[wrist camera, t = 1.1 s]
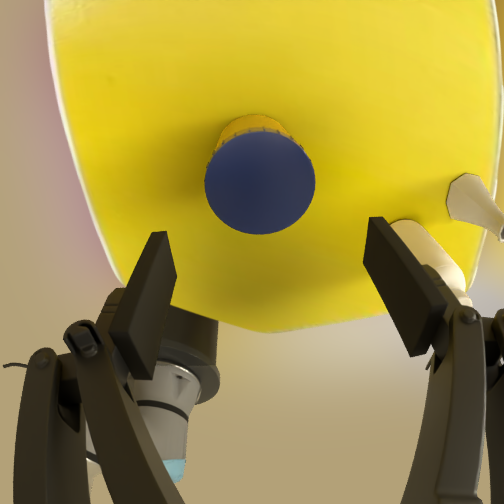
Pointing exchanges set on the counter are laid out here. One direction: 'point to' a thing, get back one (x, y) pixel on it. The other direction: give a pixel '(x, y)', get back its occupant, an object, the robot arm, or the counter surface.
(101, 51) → the counter surface
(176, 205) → the counter surface
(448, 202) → the flask
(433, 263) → the pill bottle
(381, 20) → the counter surface
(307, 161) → the jam lid
